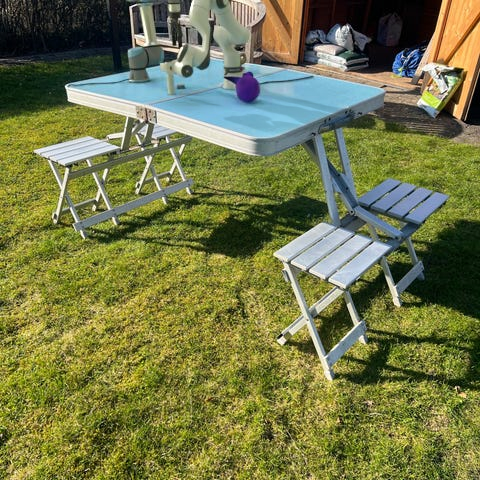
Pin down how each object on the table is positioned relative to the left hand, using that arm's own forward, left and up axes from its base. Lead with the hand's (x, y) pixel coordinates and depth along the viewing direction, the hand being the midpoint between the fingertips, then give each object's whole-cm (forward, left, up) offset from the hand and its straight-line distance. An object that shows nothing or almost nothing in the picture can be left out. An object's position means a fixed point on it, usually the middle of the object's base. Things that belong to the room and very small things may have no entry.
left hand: (177, 47), depth 302 cm
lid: (0, 0, -25) cm, 25 cm away
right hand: (-8, -29, -6) cm, 31 cm away
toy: (+30, -51, -27) cm, 65 cm away
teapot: (+55, +51, -27) cm, 80 cm away
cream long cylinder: (-9, -16, -27) cm, 33 cm away
